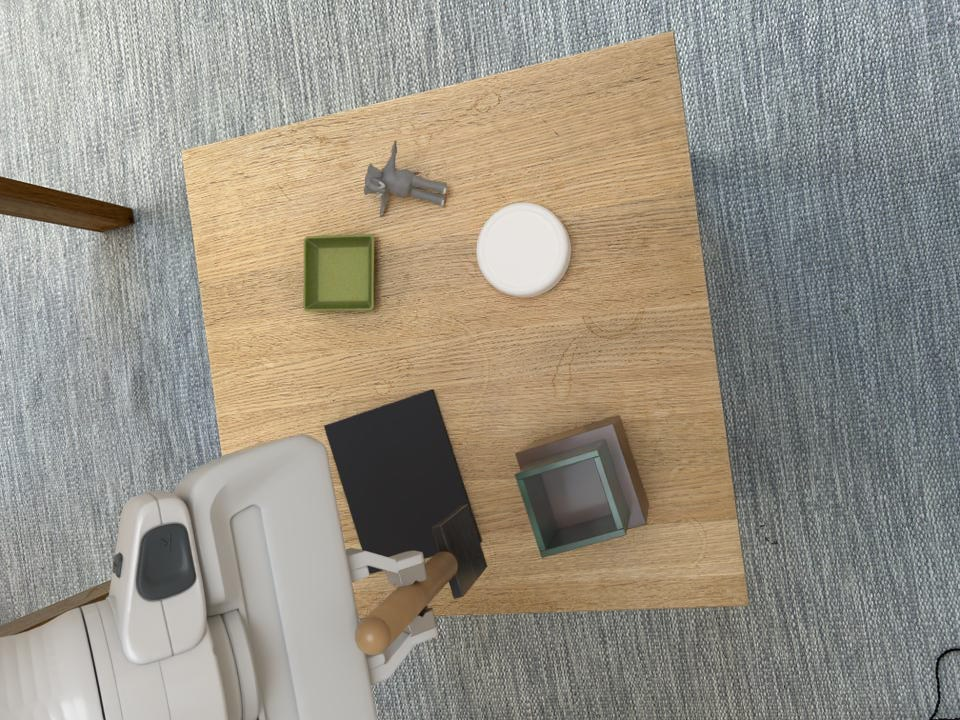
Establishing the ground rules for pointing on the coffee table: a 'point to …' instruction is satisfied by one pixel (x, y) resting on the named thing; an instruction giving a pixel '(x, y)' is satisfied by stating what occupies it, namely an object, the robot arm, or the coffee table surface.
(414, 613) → the spatula
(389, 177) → the elephant figurine
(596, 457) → the open box
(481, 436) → the coffee table surface
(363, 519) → the mat
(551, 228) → the white round tub
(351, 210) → the coffee table surface
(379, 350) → the coffee table surface
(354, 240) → the green square dish
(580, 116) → the coffee table surface
